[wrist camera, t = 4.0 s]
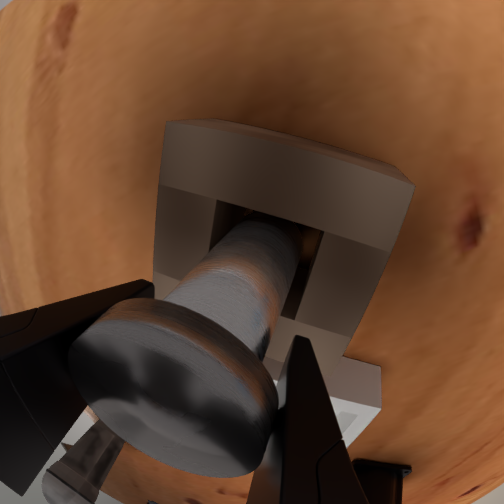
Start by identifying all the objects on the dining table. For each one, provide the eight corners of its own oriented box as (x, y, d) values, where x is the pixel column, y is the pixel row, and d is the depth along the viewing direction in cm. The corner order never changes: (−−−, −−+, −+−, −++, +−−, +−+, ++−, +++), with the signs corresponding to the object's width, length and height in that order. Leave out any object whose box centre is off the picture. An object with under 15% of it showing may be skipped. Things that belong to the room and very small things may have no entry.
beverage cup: (142, 451, 34) (75, 554, 17) (104, 433, 36) (37, 524, 19) (124, 422, 31) (41, 537, 14) (84, 403, 33) (3, 502, 16)
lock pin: (333, 210, 12) (294, 406, 4) (303, 301, 14) (240, 493, 6) (228, 181, 13) (49, 296, 5) (212, 271, 15) (89, 421, 7)
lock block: (394, 166, 13) (415, 186, 9) (337, 320, 17) (330, 376, 13) (213, 118, 14) (166, 121, 10) (191, 272, 18) (152, 313, 15)
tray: (380, 366, 17) (381, 408, 14) (317, 450, 23) (310, 482, 20) (202, 309, 19) (176, 343, 16) (190, 409, 25) (174, 437, 22)
